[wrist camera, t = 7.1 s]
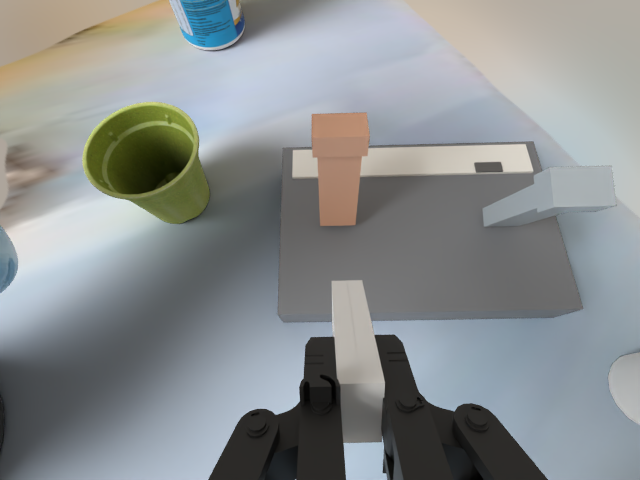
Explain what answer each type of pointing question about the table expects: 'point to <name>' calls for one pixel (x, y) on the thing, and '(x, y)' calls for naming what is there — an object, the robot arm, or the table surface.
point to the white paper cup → (626, 385)
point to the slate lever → (555, 196)
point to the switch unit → (423, 238)
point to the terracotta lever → (339, 164)
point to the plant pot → (149, 160)
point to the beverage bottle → (209, 22)
